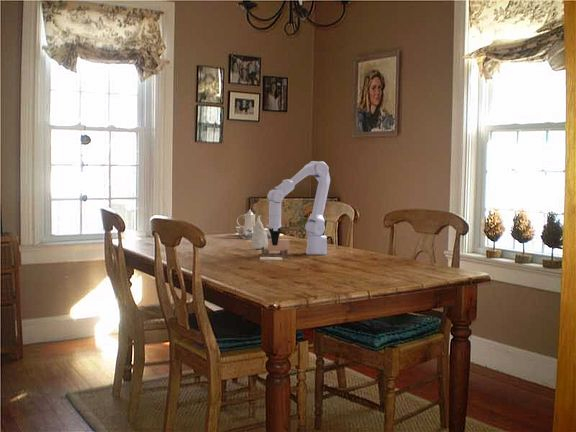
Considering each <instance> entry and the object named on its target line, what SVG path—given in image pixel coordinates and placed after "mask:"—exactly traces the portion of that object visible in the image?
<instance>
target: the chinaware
mask: <svg viewBox="0 0 576 432" xmlns="http://www.w3.org/2000/svg"><path fill="white" fill-rule="evenodd" d="M240 217H242V219H243V220H244V223H243V225H241V224H240V223H239V218H240ZM261 217H262V215H261V214H259V215H257V217H256V213H255V214H254V212H253V211H252V210H251V209H249V210H248V211H246V213H244V214H241V215H238V216H237V218H236V224H237V226H235V228H234V229H233V232H234V234H238V236H240V237H241V238H242V239H243V240H252V235H253V231H254V226H255V224H256V221H257V220H258V219H259V220H260V221H261ZM256 219H257V220H256ZM264 229H265V230H266V233H267V238H268V239H271V234H270V232H269V229H272V228H271V227H270V228H267V227H266V228H265V227H264ZM235 230H236V232H235Z"/></svg>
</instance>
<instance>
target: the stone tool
mask: <svg viewBox="0 0 576 432" xmlns="http://www.w3.org/2000/svg"><path fill="white" fill-rule="evenodd" d="M264 228H265V227H264V224H263V223H262V221H261V219H260V220H259V219H258V220H255V226H254V231H253V235H252V239H251V242H250V243H251V245H250V246H251V249H253V250H262V247H264V250H265V249H268V238H267V233H266V230H265V229H264Z"/></svg>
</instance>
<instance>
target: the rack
mask: <svg viewBox="0 0 576 432" xmlns="http://www.w3.org/2000/svg"><path fill="white" fill-rule="evenodd" d="M288 252H289V251H288V250H285V251H279V252H270V251H268V248H265V249H264V247H262V249H261V257H282V258H289V255H288Z"/></svg>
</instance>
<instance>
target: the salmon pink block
mask: <svg viewBox="0 0 576 432" xmlns="http://www.w3.org/2000/svg"><path fill="white" fill-rule="evenodd" d="M290 243H291V242H290V238H289V239H288V238H279V239H278V244H277V245H272V239H268V246H267V249H268V251H269V252H275V251H276V252H280V251H285V250H288V252H289V251H291V249H290V247H291V245H290Z"/></svg>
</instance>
